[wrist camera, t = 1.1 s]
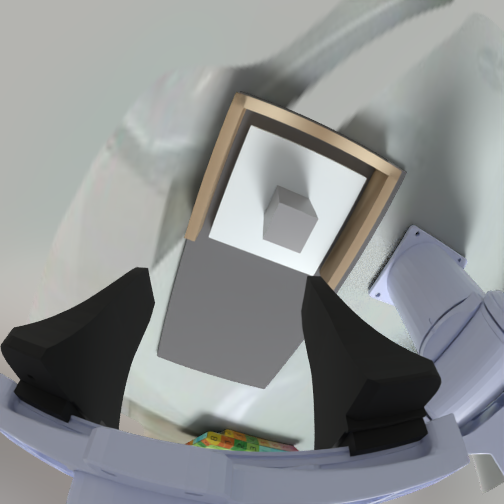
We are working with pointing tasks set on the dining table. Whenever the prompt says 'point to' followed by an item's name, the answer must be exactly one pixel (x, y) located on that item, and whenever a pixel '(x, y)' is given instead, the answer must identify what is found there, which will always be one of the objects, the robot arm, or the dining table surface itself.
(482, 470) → the cylinder vase
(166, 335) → the rubber mat
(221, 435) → the puzzle game
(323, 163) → the cover plate
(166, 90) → the dining table surface
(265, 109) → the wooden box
